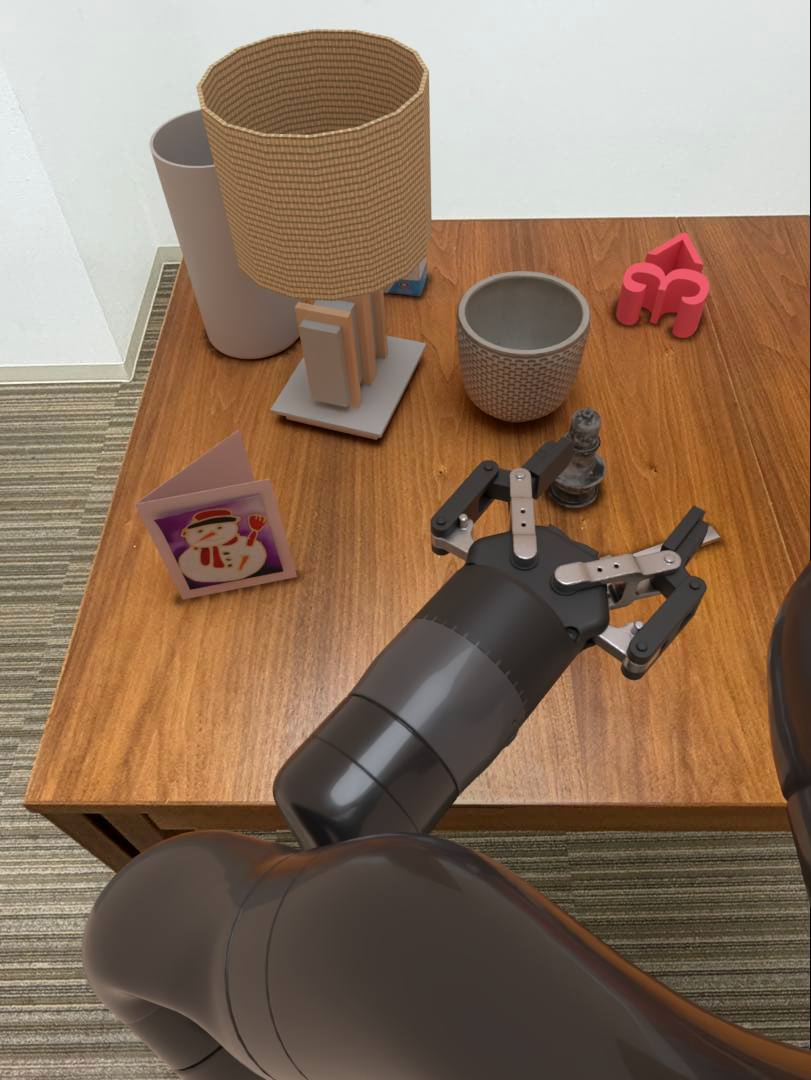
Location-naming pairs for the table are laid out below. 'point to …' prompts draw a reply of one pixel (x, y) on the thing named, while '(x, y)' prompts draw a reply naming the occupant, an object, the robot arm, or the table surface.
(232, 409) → the table surface
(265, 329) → the cylinder vase
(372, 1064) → the robot arm
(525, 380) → the planter
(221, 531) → the greeting card
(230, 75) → the desk lamp
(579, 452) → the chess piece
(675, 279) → the letters
